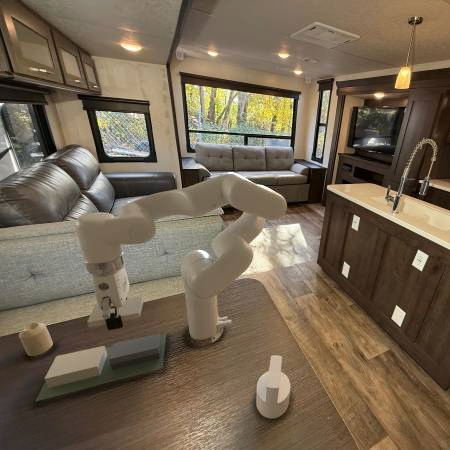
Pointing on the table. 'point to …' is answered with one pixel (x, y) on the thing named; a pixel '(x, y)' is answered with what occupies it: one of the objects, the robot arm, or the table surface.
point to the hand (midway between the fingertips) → (119, 317)
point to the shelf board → (105, 375)
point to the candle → (35, 339)
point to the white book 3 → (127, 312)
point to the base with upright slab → (273, 390)
